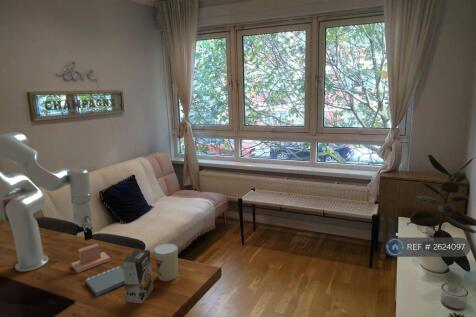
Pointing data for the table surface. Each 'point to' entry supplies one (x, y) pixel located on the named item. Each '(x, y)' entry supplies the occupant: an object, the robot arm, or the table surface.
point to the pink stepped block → (90, 258)
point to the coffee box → (138, 276)
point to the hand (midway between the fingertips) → (84, 235)
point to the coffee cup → (166, 261)
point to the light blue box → (106, 281)
